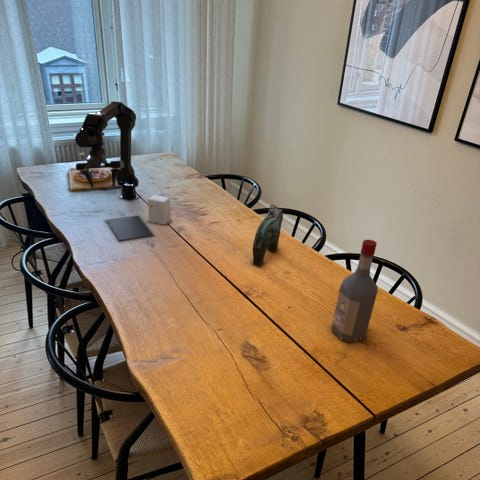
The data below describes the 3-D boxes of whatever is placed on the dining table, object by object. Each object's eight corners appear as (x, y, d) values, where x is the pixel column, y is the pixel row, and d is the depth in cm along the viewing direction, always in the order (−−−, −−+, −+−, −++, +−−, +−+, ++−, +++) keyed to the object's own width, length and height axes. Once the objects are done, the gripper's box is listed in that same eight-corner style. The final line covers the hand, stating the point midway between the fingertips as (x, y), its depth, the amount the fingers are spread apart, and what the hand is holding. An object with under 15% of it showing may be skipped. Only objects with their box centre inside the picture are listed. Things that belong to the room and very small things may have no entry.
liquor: (344, 345, 131) (366, 252, 114) (327, 327, 138) (345, 237, 121) (369, 338, 134) (394, 247, 117) (352, 322, 141) (373, 233, 124)
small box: (171, 220, 199) (170, 197, 193) (165, 225, 195) (164, 201, 189) (155, 217, 201) (153, 194, 195) (149, 222, 197) (147, 198, 191)
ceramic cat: (269, 244, 184) (273, 197, 173) (283, 248, 182) (289, 200, 171) (248, 264, 169) (251, 213, 158) (264, 268, 167) (268, 217, 156)
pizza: (64, 171, 247) (62, 164, 245) (116, 168, 256) (115, 161, 254) (69, 193, 221) (68, 185, 219) (127, 188, 230) (126, 181, 228)
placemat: (106, 220, 195) (106, 219, 195) (138, 216, 201) (137, 215, 201) (119, 241, 180) (119, 240, 179) (153, 236, 185) (153, 235, 185)
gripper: (66, 148, 177) (74, 189, 182) (113, 145, 176) (119, 187, 181) (77, 149, 187) (84, 188, 193) (121, 146, 186) (127, 185, 191)
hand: (103, 187), depth 189 cm, fingers open, 9 cm apart
